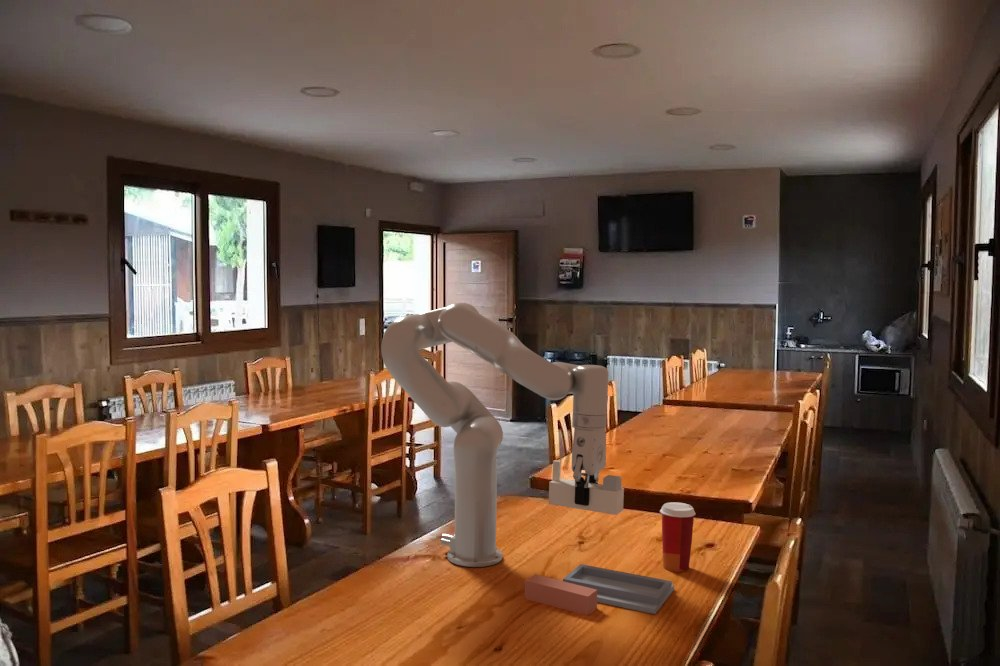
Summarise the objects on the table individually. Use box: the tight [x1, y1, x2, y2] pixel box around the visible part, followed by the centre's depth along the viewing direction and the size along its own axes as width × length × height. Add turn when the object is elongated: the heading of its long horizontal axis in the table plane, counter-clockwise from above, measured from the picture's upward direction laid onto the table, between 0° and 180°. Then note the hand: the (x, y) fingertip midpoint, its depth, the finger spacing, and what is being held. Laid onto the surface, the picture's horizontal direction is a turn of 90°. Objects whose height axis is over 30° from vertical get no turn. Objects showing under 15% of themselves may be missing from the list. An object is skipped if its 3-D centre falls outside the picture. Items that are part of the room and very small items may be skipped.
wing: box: [524, 574, 598, 616], centre depth 158 cm, size 14×4×4 cm, turn 57°
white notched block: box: [548, 459, 625, 516], centre depth 178 cm, size 16×4×10 cm, turn 63°
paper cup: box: [659, 501, 696, 573], centre depth 179 cm, size 8×8×14 cm
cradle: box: [562, 563, 675, 615], centre depth 165 cm, size 20×14×2 cm
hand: (586, 501), depth 179 cm, fingers closed on white notched block, 4 cm apart
